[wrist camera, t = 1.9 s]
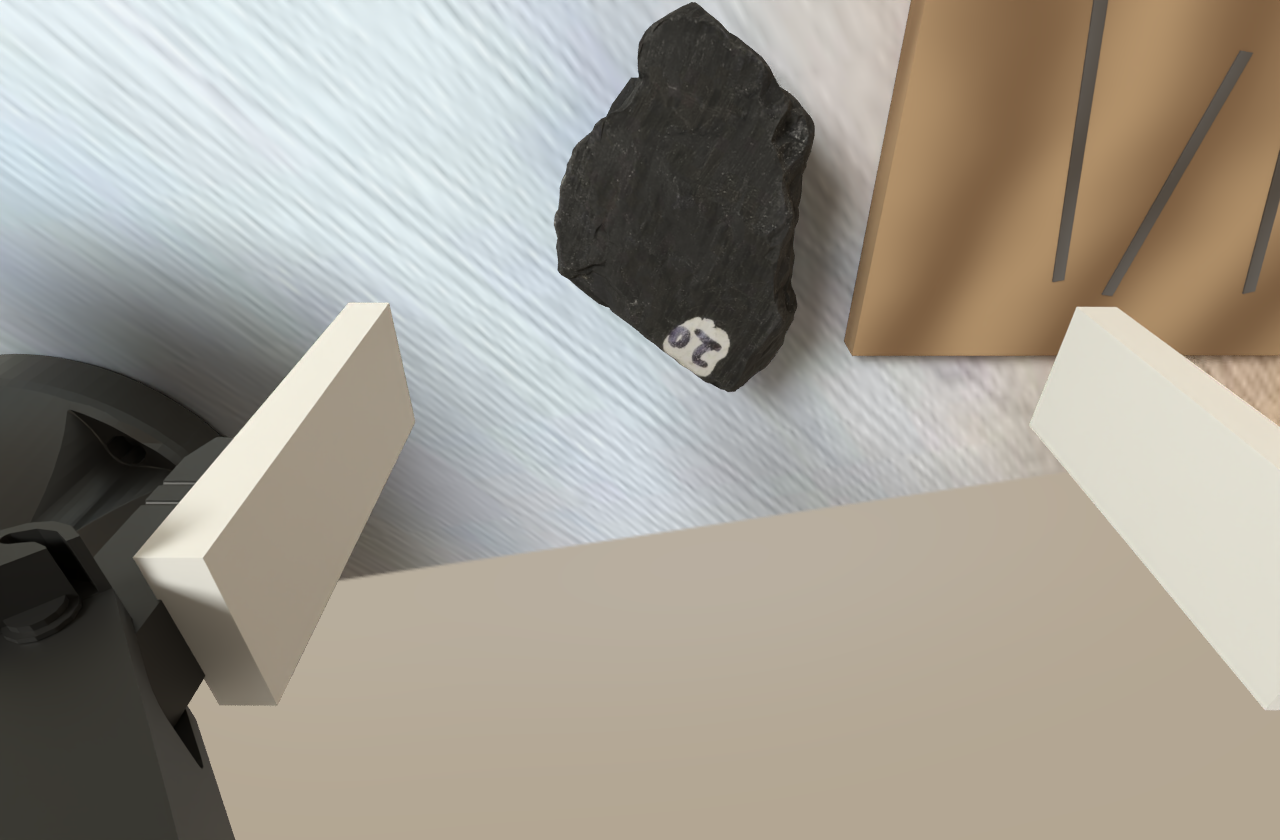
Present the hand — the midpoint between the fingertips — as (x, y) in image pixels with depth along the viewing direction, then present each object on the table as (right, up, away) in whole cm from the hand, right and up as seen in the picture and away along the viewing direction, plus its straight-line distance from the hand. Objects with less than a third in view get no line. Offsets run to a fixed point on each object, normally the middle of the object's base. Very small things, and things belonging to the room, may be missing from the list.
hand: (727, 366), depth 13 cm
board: (+15, +8, +10) cm, 20 cm away
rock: (0, +7, +11) cm, 13 cm away
